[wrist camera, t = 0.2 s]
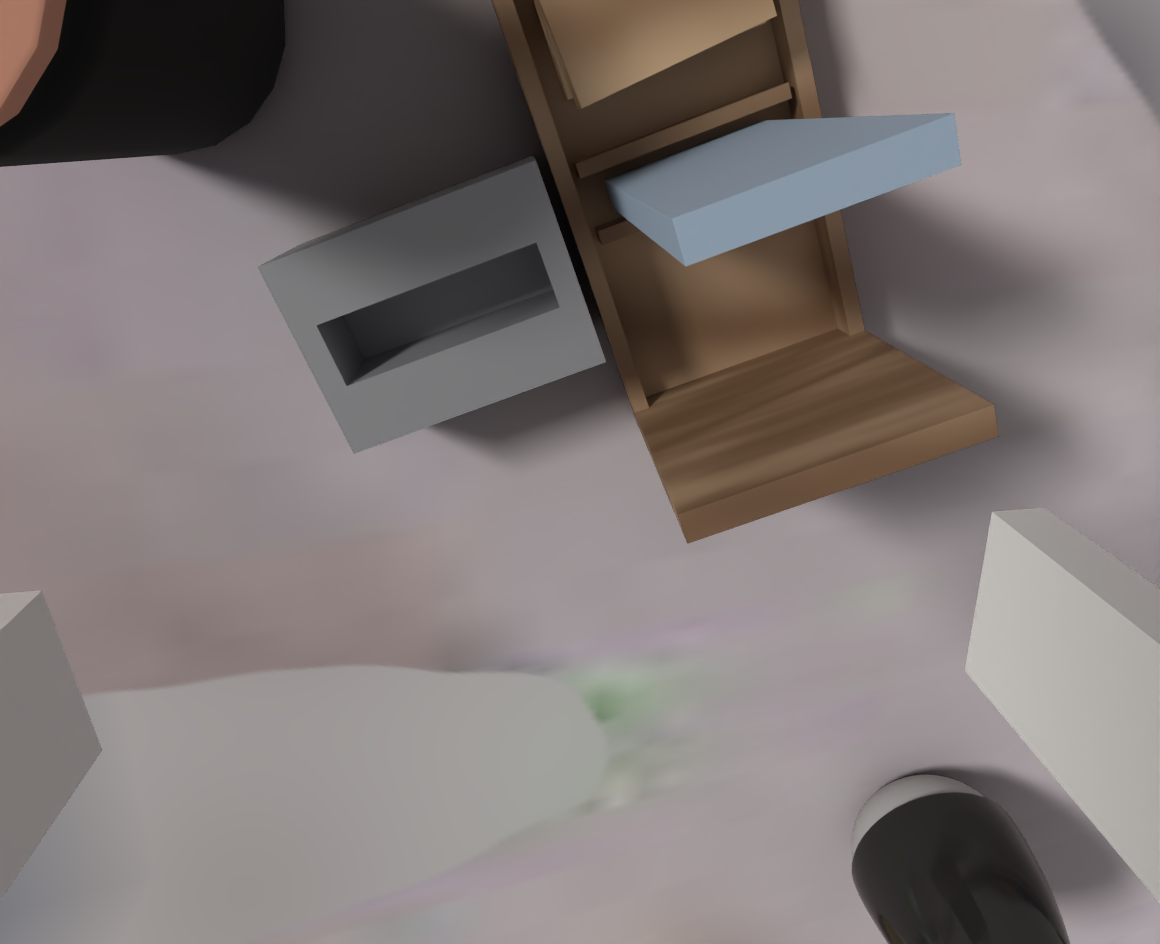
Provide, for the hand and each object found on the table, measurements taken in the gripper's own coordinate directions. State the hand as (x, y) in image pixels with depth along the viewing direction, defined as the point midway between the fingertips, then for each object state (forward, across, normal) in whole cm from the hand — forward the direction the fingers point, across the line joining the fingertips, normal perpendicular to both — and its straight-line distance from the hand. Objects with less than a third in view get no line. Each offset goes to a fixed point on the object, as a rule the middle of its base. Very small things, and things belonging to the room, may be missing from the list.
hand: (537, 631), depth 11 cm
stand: (+27, -3, 0) cm, 27 cm away
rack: (+27, +7, +6) cm, 29 cm away
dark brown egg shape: (+28, +22, -35) cm, 50 cm away
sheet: (+26, +7, +5) cm, 28 cm away
